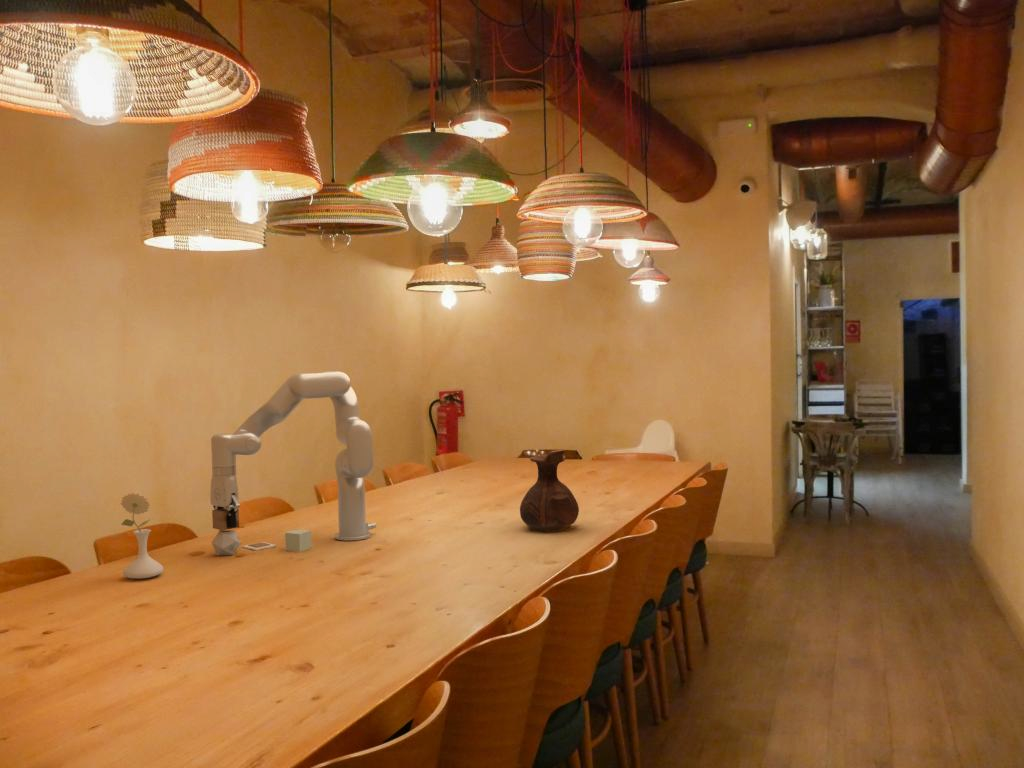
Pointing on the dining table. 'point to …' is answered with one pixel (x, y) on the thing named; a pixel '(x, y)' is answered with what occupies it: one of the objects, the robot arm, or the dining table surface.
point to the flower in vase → (139, 540)
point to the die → (226, 542)
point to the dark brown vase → (549, 497)
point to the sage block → (298, 540)
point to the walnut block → (222, 519)
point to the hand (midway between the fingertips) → (226, 525)
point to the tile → (259, 546)
